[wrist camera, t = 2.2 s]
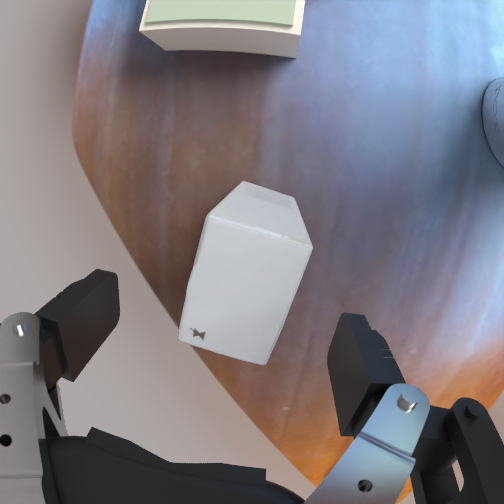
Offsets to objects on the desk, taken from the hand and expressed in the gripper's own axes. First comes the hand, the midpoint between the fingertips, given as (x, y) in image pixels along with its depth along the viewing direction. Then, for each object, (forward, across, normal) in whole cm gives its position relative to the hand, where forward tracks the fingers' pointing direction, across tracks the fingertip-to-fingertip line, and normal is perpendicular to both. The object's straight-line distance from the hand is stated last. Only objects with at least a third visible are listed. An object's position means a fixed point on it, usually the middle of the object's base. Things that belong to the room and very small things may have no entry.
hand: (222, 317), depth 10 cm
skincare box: (+14, 0, 0) cm, 14 cm away
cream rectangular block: (+13, +4, -18) cm, 23 cm away
